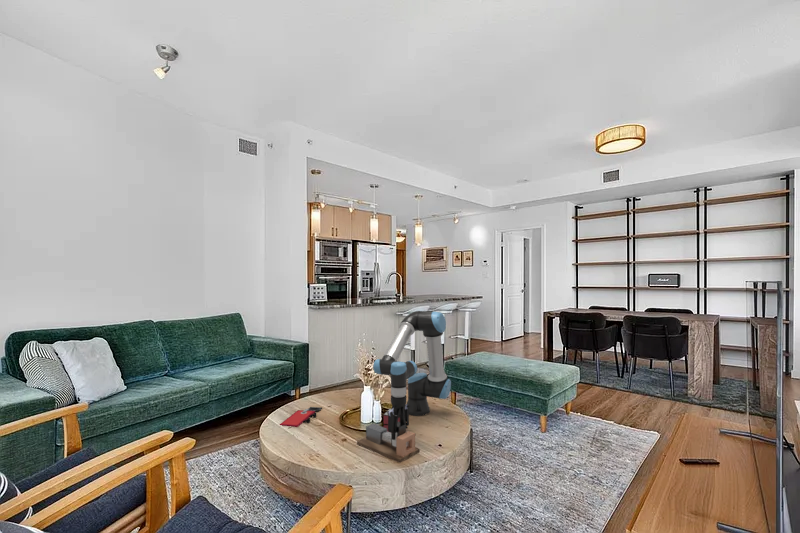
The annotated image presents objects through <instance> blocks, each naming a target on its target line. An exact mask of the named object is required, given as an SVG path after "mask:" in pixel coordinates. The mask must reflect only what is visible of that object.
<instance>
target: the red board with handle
mask: <svg viewBox="0 0 800 533" xmlns="http://www.w3.org/2000/svg"><path fill="white" fill-rule="evenodd" d="M322 409H323V407H322V406H321V407H319V406H310V407H308V408H305V409H304V410H303V409H301V410H300V409H298V410H296V411H294V413H292V414H291V415H289V417H287V418H286V419H285V420H283V421H282V422H281V423H280V424H278V425H282V427H290V426H291V427H293V428H299V427H300V426H301V425H302V424H304V423H306V424H310V423H311V418H314V419H316V418H317V412H319V411H320V410H322ZM291 427H290V428H291Z"/></svg>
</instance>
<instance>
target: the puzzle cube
mask: <svg viewBox="0 0 800 533" xmlns="http://www.w3.org/2000/svg"><path fill="white" fill-rule="evenodd" d="M390 410H392V408H389V409H387V411H386V412H385V413H384V414H383V415H382V417H383V418H382V419H383V420H382V422H383V424H382V425H383V426H382V427H384V428H387V432H388V413H387V412H388V411H390ZM396 416H397V415H396ZM398 422H400V417H399V418H398ZM390 433H391V432H390Z"/></svg>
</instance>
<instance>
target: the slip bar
mask: <svg viewBox="0 0 800 533" xmlns="http://www.w3.org/2000/svg"><path fill="white" fill-rule="evenodd" d="M396 432H397V437H398V436H400V435H402V434H404V433H406V432H407V429H406V424H404V423H401V422H398V423H397V429H396ZM381 440H384V441H386V442H389V443H391V446H393V445H392V438H391V433H390V432H387V431H384V432H381ZM394 447H395V446H394ZM407 447H409V441H407V442H406V448H407Z"/></svg>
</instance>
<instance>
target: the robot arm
mask: <svg viewBox="0 0 800 533" xmlns="http://www.w3.org/2000/svg"><path fill="white" fill-rule="evenodd" d="M446 325H447V322H446V317H445V315H444V313H442V312H440V311H430V310H429V311H424V310H416V311H413V312H412V311H411V313H409V314H407V315H406V316H405V317H404V318H403V319H402V320H401V322H400V324H399V325H398V330H397V332H396V333H395V335H394V337H393V339H392V341H391V342H390V344H389V346H388V348H387V349H386V351H385V352H384V354H383V356H382V358H377V359H375V360H374V361H373V366H372V369H373V373H375V374H378V375H382V376H390V403H391V409H392V410H390V411H388V410H387V411H388V412H387V411H386V412H387V413H388V432H391V438H392V445H393V446H395V447H396V437H397V432H396V429H397V423H398V418H399V417H400V422H401V423H404V424H406V430H407V429H408V427H409V425H410V416H413V417H414V416H415V417H421V416H423V417H424V416H427V415H428V414H430V411H431V410H430V406H429V402H428V398H427V397H429V398H436V399H439V400H446V399H447V398H448V397H449V395H450V393H451V388H452V381H451V379H449V378H448V376H447V374H446V372H445V369H444V368H445V367H444V358H443V348H442V336H443V334H444V332H445V331H446ZM419 331H420V332H422V333H423V334H422V335H423V336H424V338H426V348H427V358H428V361H427V362H428V370H429V374H428V375H427V373H426V372H417V371H418V365H417V364H416V363H415V362H414V361H413V360H408V361H407V360H406V361H399V358H400V356H401V354H402V352H403V350H404V348H405V346H406V345H407V343H408V341H409V340H410V337H411V336H412V335H413V334H414V333H415V332H419ZM396 415H397V416H396Z"/></svg>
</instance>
